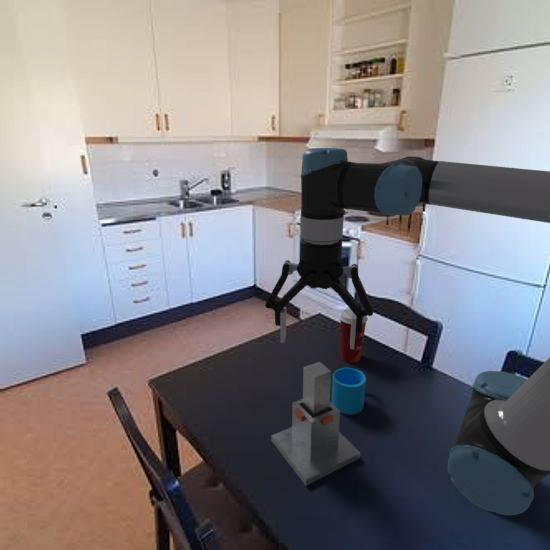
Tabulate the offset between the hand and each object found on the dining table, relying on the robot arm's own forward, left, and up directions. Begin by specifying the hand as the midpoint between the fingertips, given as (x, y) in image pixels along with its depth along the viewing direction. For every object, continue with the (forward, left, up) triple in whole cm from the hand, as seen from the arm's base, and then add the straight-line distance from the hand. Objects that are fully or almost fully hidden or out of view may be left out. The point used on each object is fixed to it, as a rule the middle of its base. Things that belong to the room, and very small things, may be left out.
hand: (317, 342), depth 79 cm
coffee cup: (+25, -31, -27) cm, 48 cm away
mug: (+9, -18, -27) cm, 34 cm away
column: (0, 0, -25) cm, 25 cm away
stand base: (0, 0, -27) cm, 27 cm away
